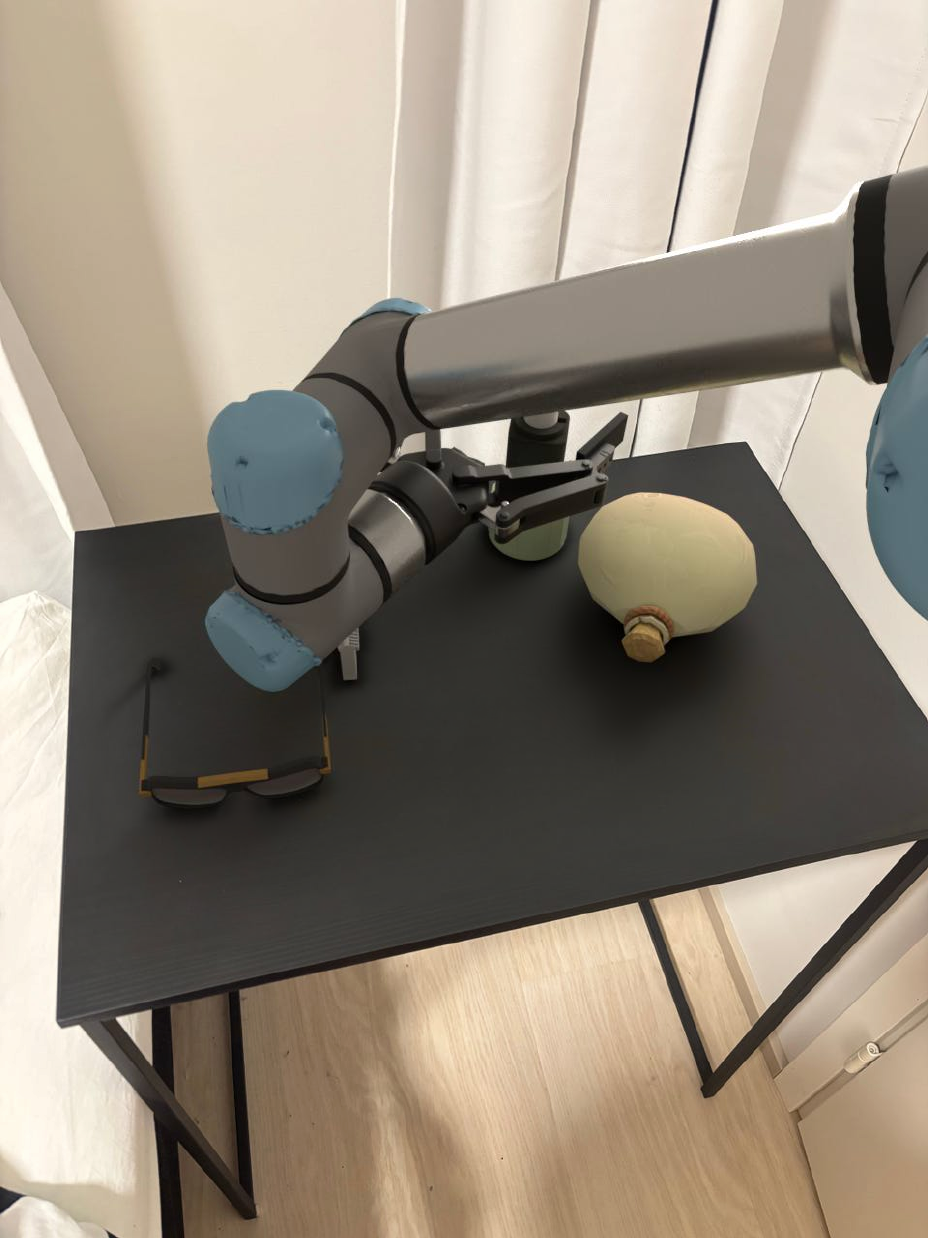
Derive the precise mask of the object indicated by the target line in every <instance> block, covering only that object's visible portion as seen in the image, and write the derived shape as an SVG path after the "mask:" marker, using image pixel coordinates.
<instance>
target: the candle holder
mask: <svg viewBox="0 0 928 1238" xmlns="http://www.w3.org/2000/svg"><path fill="white" fill-rule="evenodd" d="M494 490H495V482H494V483H493V484H492V486H491V492H490V493H492V492H494ZM570 518H571V516H569V517H566V518H563V519H560V520H557V521H554V522H551V523H548V524H545V525H541V526H538V527H535V528H532V529H529V530H526V531H523V532H521V533H520V534H519V535H517V536H516V537H515V538H513V539H512V540H511V541H509V542H508V543H506V544H499V543H497V542H496V541H495V540H494V531H493V530H492V529H490V528H489V527H487V529H488V536H489V540H490V541H491V543H492V544H493V546H494V547H495V548H496V549H497V550H498V551H499V552H501V553H502V554H503V555H505V556H507V557H509V558H512V559H516V560H520V561H528V562H530V561H533V562H534V561H540V560H544V559H548V558H549V557H552V556H553V555H555V554H557V553H558V552H559V551H560V550H561V549H562V547H563V546H564V545H565V542H566V539H567V536H568V529H569V523H570Z"/></svg>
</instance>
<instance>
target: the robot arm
mask: <svg viewBox="0 0 928 1238" xmlns="http://www.w3.org/2000/svg"><path fill="white" fill-rule="evenodd" d="M839 370H840V371H841V370H845V371H851V372H852V374H855V376H857V377H858V378H860V379H861V380H862V381H864V382H865V383H866V384H867V385H870V386H879V385H885V384H886V388H885V389H884V391H883V393H882V394H881V397H880V400H879V402H878V405H877V406H876V408H875V411H874V415H873V418H872V422H871V425H870V429H869V435H868V441H867V443H866V451H865V463H866V465H865V466H866V473H865V474H866V477H865V490H866V493H865V498H866V499H865V500H866V501H865V510H866V521H867V529H868V534H869V537H870V542H871V544H872V547H873V551H874V553H875V556H876V558H877V560H878V562H879V564H880V566H881V569H882V571H883V572H884V574H885V576H886V577H887V579H888V581H889V582H890V584H891V585H892V586H893V588H894V589H895V590H896V591H897V593H898V594H899V595H900V596H901V598H902V599H903V600H904V601H905V602H906V603H907V605H909V606H910V607H911V608H912V609H913V610H914V611H915V612H916V613H917V614H918V615H920V616H921V617H922V618H923V619H925V620H926V621H927V622H928V164H926V165H922V166H921V165H920V166H918V167H914V168H910V169H907V170H903V171H898V172H894V173H892V174H888V175H884V176H880V177H876V178H873V179H869V180H864V181H861V182H858V183H856V184H855V185H854V186H853V187H852V189H851V190H850V191H849V193H848V194H847V196H846V197H845V198H844V200H843V201H842V202H841V204H840V205H839V206H838V207H836V209H835V210H833V211H832V212H828V213H825V214H820V215H816V216H813V217H808V218H804V219H800V220H795V221H792V222H788V223H783V224H780V225H775V226H771V227H768V228H763V229H760V230H755V231H752V232H751V231H750V232H747V233H743V234H739V235H735V236H730V237H727V238H723V239H719V240H715V241H710V242H706V243H702V244H698V245H694V246H690V247H687V248H683V249H682V248H681V249H678V250H674V251H669V252H666V253H661V254H658V255H653V256H649V257H646V258H642V259H637V260H634V261H629V262H626V263H622V264H617V265H613V266H610V267H606V268H605V267H604V268H601V269H598V270H597V269H596V270H593V271H589V272H585V273H581V274H577V275H572V276H568V277H564V278H560V279H557V280H553V281H549V282H545V283H540V284H536V285H532V286H527V287H524V288H520V289H516V290H512V291H508V292H503V293H500V294H495V295H492V296H487V297H484V298H479V299H475V300H472V301H468V302H462V303H459V304H455V305H452V306H447V307H443V308H438V309H435V310H432V309H430V308H429V307H428V306H426V305H425V304H422V303H420V302H418V301H417V302H416V301H415V302H413V301H410V300H408V299H404V298H403V297H391V298H386V299H383V300H380V301H378V302H376V303H374V304H373V305H371V306H370V307H369V308H367V310H366V311H364V312H363V313H362V314H361V315H360V316H357V317H356V318H354V319H353V320H352V321H351V322H350V324H349V325H348V326H347V327H345V328H344V329H343V331H342V332H341V333H340V336H339V337H338V338H337V340H336V341H335V342H334V343H333V345H332V346H331V347H330V348H329V349H328V350H327V351H326V352H325V354H324V355H323V356H322V357H321V358H320V359H319V360H318V362H317V363H316V364H315V365H314V366H313V368H312V369H311V370H310V371H309V372H308V373H307V375H305V377H304V378H303V379H302V380H301V381H300V382H299V383H298V384H296V385H295V387H294V388H293V389H292V390H288V389H267V390H260V391H256V392H253V393H251V394H249V395H248V397H247V399H245V400H242V401H232V402H230V403H228V404H227V405H225V407H224V408H223V409H222V410H220V411H219V412H218V414H217V415H216V416H215V418H214V420H212V423H211V425H210V427H209V430H208V433H207V438H206V449H207V450H206V451H207V455H208V461H209V467H210V475H209V476H210V480H211V487H210V489H211V494H212V496H213V501H214V503H215V506H216V507H217V509H218V512H219V517H220V520H221V524H222V527H223V532H224V535H225V541H226V543H227V544H226V545H227V549H228V552H229V555H230V560H231V563H232V564H231V565H232V569H231V570H232V571H231V572H232V576H233V579H234V583H235V584H234V585H232V587H230V588H228V589H226V590H223V592H222V593H221V595H220V596H219V597H217V599H216V600H215V601H214V602H213V603H212V604H211V605H210V606H209V608H208V610H207V613H206V615H205V618H204V625H205V629H206V632H207V635H208V638H209V640H210V641H211V644H212V645H213V647H214V648H215V650H216V651H217V653H218V654H219V655H220V657H221V658H222V659H223V661H224V662H225V663H226V664H227V666H229V667H230V669H232V670H233V671H234V672H235V673H236V674H237V675H238V676H239V677H241V678H242V679H243V680H244V681H246V682H248V683H249V684H250V685H252V686H253V687H255V688H257V689H259V690H262V691H265V692H273V693H276V692H281V691H285V689H288V688H289V687H290V686H291V685H292V684H294V683H295V682H296V681H297V680H299V679H300V678H301V677H303V675H304V674H306V673H308V672H309V671H311V669H312V668H314V667H318V665H320V664H321V665H322V663H323V660H324V659H326V658H327V657H328V656H329V655H330V654H331V653H332V652H333V651H334V650H336V648H338V647H339V645H340V644H341V643H342V642H343V641H344V640H345V639H346V638H347V637H348V636H349V635H351V634H352V633H353V632H354V631H355V630H356V629H357V628H358V629H359V627H361V626H362V625H363V624H364V623H365V622H366V621H367V620H368V619H369V618H371V616H373V614H374V613H376V612H377V611H378V610H379V609H380V607H382V606H383V605H384V604H385V603H386V602H387V601H388V600H390V599H391V598H392V597H393V596H394V595H395V594H396V593H398V592H399V591H400V590H401V589H402V588H403V587H404V586H405V585H406V584H407V583H409V582H410V581H411V580H413V578H414V577H415V576H417V575H418V574H419V573H420V572H421V571H422V570H423V569H424V567H425V566H428V565H429V564H431V563H432V562H433V561H434V560H435V559H437V558H438V557H439V556H440V555H441V554H442V553H444V552H445V551H446V550H447V549H448V548H449V547H450V546H451V545H452V544H453V543H454V542H456V540H457V539H458V538H459V537H460V536H461V534H462V533H463V532H464V531H465V530H466V528H468V527H470V526H471V525H475V524H478V523H479V524H480V523H482V524H483V525H485V526H486V527H487V528H488V527H489V528H490V529H492V530H493V531H494V540H495V541H496V542H497V543H499V544H506V543H508V542H509V541H511V540H512V539H513V538H515V537H516V536H517V535H519V534H520V533H521V532H523V531H526V530H529V529H532V528H535V527H538V526H541V525H545V524H548V523H551V522H554V521H557V520H560V519H563V518H566V517H569V516H570V517H573V516H575V515H579V514H581V513H584V512H588V511H591V510H594V509H597V508H600V507H603V506H604V505H605V504H604V503H605V498H606V493H607V489H608V484H609V477H608V476H607V475H606V474H604V472H605V471H606V470H607V469H608V468H610V466H611V465H612V464H613V463H612V462H613V459H614V456H615V450H616V448H617V447H619V446H620V445H621V444H622V443H623V442H624V440H625V439H624V438H625V434H626V430H627V424H628V420H629V414H627V413H625V412H623V411H620V412H618V413H616V415H615V416H614V417H613V418H612V419H611V420H609V422H607V423H606V424H605V425H604V426H603V427H602V428H601V429H600V430H598V431H597V432H596V433H595V434H594V435H593V436H592V437H591V438H589V439H588V440H587V441H586V443H584V444H583V445H582V446H581V447H580V448H579V449H578V450H577V451H576V454H575V459H574V460H567V461H565V460H564V462H556V463H548V464H539V465H531V466H522V467H513V468H507V467H506V464H504V463H497V464H489V465H486V463H485V462H483V461H481V460H480V459H478V458H475V457H470V456H468V454H466V453H464V452H463V451H462V450H461V449H459V448H458V447H456V446H452V447H451V448H450V447H442V432H441V430H447V429H453V428H459V427H465V426H472V425H473V426H474V425H479V424H487V423H492V422H499V421H506V420H511V419H513V418H520V417H527V416H533V415H540V414H547V413H553V412H560V411H566V412H568V411H573V410H579V409H585V408H593V407H600V406H606V405H613V404H619V403H626V402H633V401H634V402H635V401H640V400H647V399H653V398H661V397H667V396H672V395H681V394H688V393H693V392H699V391H706V390H712V389H713V390H714V389H719V388H727V387H734V386H740V385H747V384H753V383H758V382H759V383H760V382H761V383H762V382H767V381H773V380H780V379H787V378H792V377H793V378H794V377H800V376H805V375H806V376H807V375H813V374H820V373H828V372H833V371H839ZM417 434H424V448H425V449H424V450H422V451H415V452H409V453H405V454H402V455H401V450H402V447H403V445H404V442H405V440H406V439H407V438H409V437H410V436H413V435H417ZM493 481H495V482H494V483H495V490H494V492H492V493H491V492H490V482H493ZM510 501H512V502H511V503H508V502H510ZM489 528H488V529H489Z"/></svg>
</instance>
